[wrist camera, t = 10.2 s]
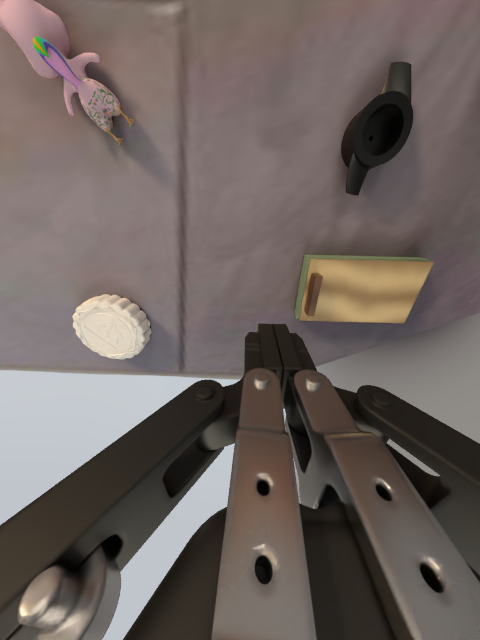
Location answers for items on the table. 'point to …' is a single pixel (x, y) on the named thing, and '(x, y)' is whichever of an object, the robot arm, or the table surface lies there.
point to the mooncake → (112, 326)
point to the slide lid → (362, 290)
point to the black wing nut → (379, 127)
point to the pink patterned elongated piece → (59, 59)
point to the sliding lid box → (308, 257)
